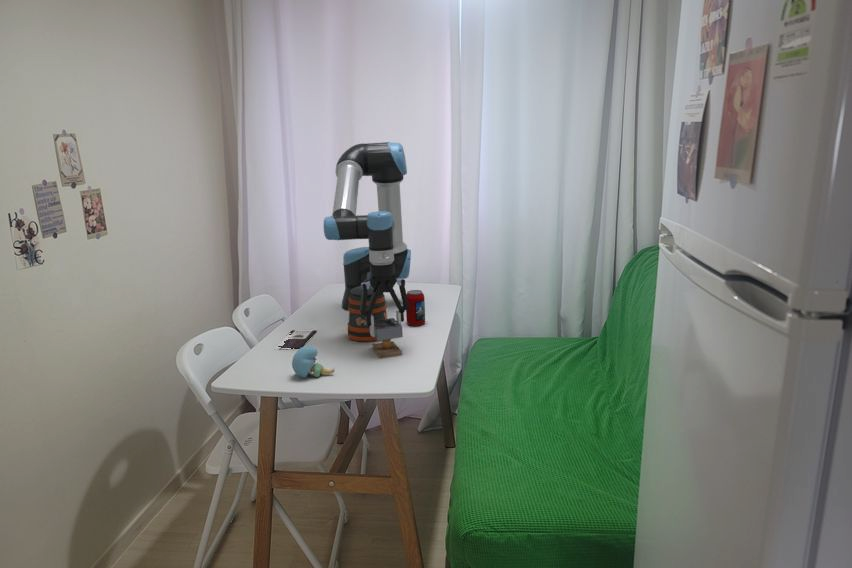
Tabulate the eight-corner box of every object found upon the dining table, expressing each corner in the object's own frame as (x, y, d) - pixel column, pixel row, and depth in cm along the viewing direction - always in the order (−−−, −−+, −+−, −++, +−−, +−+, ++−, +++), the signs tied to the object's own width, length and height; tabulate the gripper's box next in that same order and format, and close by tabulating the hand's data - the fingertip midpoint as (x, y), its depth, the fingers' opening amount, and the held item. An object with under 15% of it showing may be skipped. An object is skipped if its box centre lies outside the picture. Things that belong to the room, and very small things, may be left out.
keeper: (372, 347, 197) (371, 329, 195) (393, 344, 199) (392, 326, 198) (380, 357, 188) (379, 338, 186) (402, 354, 190) (401, 335, 188)
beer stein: (349, 326, 220) (345, 272, 216) (390, 323, 221) (387, 269, 216) (346, 343, 202) (342, 285, 197) (390, 341, 203) (387, 282, 198)
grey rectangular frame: (369, 331, 195) (369, 320, 195) (394, 328, 198) (393, 317, 197) (377, 340, 186) (376, 329, 185) (402, 337, 188) (402, 326, 188)
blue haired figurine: (333, 352, 171) (289, 350, 170) (332, 381, 173) (290, 380, 173) (336, 343, 178) (295, 342, 177) (336, 372, 180) (295, 370, 180)
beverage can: (423, 327, 216) (422, 294, 213) (404, 326, 217) (403, 294, 214) (427, 321, 222) (425, 289, 219) (409, 320, 224) (407, 289, 221)
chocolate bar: (273, 347, 199) (291, 330, 216) (273, 350, 199) (292, 332, 217) (300, 348, 198) (316, 330, 215) (300, 350, 198) (316, 332, 215)
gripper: (351, 268, 180) (355, 341, 185) (418, 261, 186) (421, 332, 192) (346, 263, 187) (350, 334, 192) (411, 257, 193) (414, 325, 198)
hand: (385, 333), depth 192 cm, fingers closed on grey rectangular frame, 8 cm apart
